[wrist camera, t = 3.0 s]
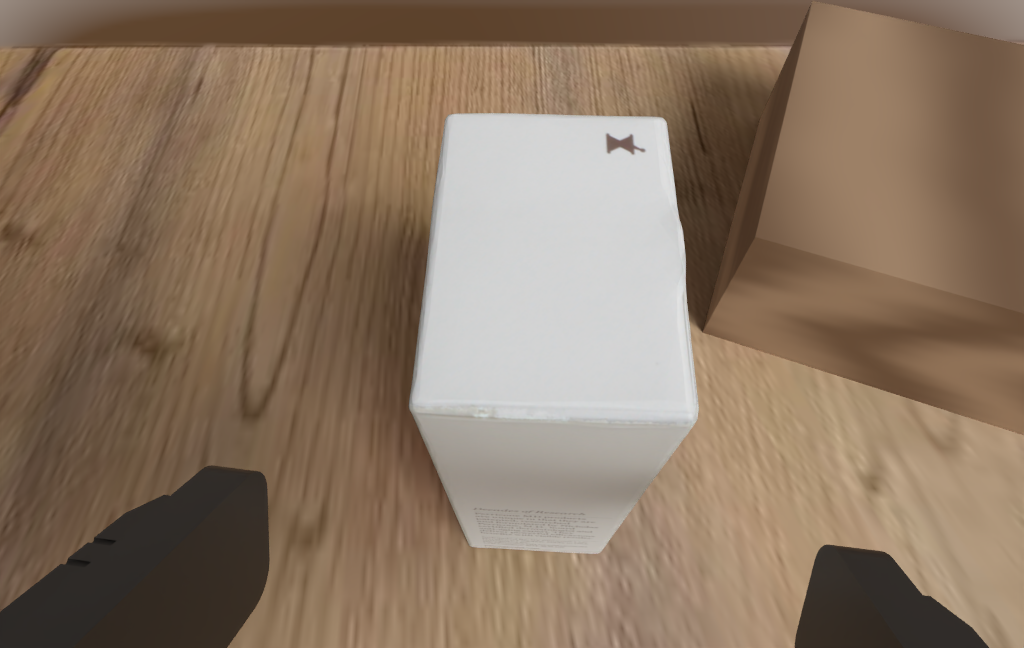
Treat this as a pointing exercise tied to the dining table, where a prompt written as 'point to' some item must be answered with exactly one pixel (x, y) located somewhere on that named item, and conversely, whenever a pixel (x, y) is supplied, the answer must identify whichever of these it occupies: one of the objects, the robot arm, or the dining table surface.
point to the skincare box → (552, 326)
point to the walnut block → (887, 215)
